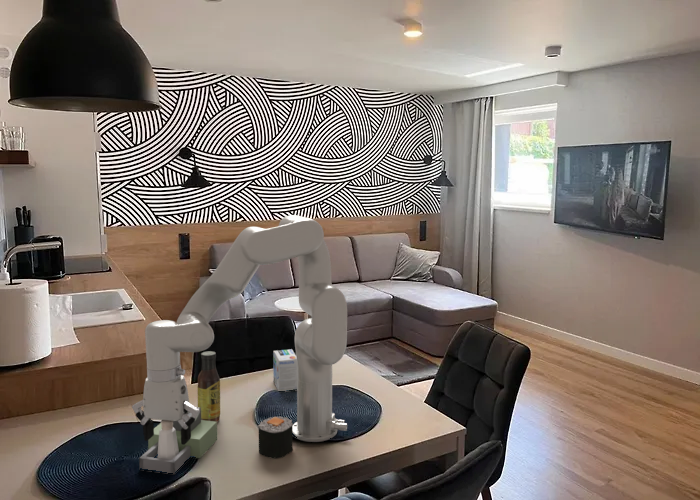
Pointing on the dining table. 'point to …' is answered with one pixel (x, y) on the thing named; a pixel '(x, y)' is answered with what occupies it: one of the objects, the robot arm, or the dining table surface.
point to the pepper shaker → (167, 441)
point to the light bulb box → (285, 370)
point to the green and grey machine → (196, 446)
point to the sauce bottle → (209, 388)
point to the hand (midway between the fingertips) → (167, 440)
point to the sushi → (275, 437)
